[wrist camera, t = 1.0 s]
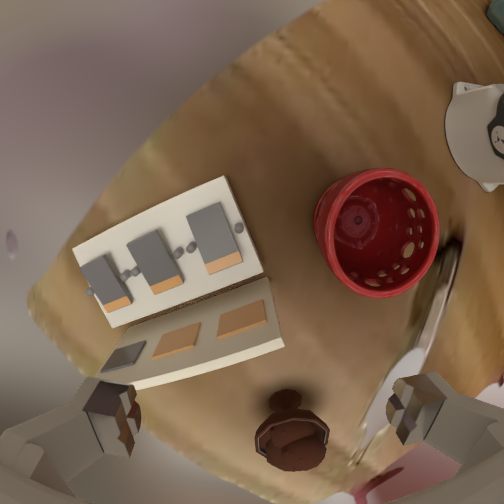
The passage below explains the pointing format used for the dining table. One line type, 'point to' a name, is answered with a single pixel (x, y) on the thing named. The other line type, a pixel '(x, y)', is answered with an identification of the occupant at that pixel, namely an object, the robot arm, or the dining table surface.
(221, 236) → the switch near
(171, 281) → the switch middle
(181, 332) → the switch unit
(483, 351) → the dining table surface
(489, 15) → the flower pot
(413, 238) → the plant pot
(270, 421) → the ice cream bowl
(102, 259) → the switch far
